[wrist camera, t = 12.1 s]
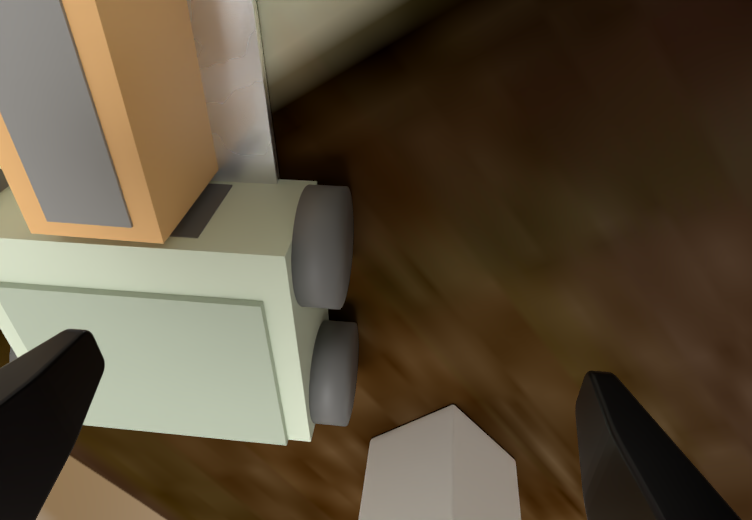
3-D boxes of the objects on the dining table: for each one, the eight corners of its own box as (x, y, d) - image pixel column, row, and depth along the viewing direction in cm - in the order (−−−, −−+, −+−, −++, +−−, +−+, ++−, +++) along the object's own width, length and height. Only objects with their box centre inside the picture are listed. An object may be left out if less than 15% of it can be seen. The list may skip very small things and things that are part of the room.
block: (218, 169, 21) (162, 245, 17) (109, 162, 22) (29, 235, 18) (173, -69, 16) (80, -41, 12) (34, -72, 17) (-102, -47, 13)
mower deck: (351, 164, 21) (324, 244, 17) (359, 369, 28) (342, 461, 24) (-5, 147, 22) (-113, 217, 18) (88, 345, 29) (26, 429, 25)
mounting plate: (246, -70, 16) (242, -68, 16) (279, 179, 22) (277, 184, 21) (-26, -71, 17) (-35, -69, 17) (67, 168, 22) (62, 173, 22)
